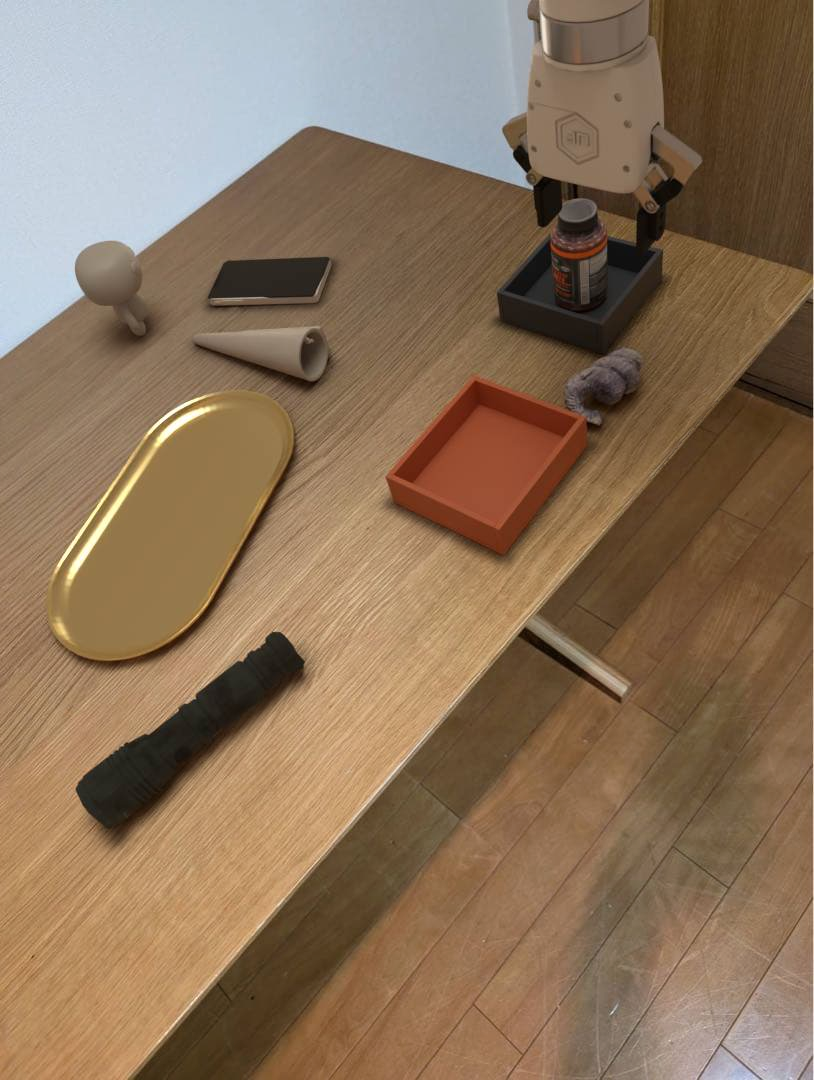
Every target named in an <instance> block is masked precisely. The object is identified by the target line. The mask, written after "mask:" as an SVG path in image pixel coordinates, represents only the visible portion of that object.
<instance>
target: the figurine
mask: <svg viewBox="0 0 814 1080" xmlns="http://www.w3.org/2000/svg"><path fill="white" fill-rule="evenodd" d="M74 274H75V278H76V281H77V283H78V286H79V287H80V290H81V291H82V293H83V294H84V295H85V296H86V298H87V299H88V300H89V301H91V302H92V303H93V304H96V305H98V306H102V307H112V309H113V311H114V314H115V315H116V317H117V319H118V320H120V321H121V322H122V323H123V324H126V325H128V327H129V329H130V330H131V332H132V333H133V334H134V335H136V336H138V337H143V336H144V335H146V333H147V328H146V324H145V322H144V320H145V318H146V317H147V315H148V306H147V302H146V301H145V299H144V298H143V297H142V296H141V295H139V293H138V292H139V291H140V289H141V288H142V284H143V271H142V268H141V265H140V262H139V260H138V258H137V256H136V254H135V252H134V251H133V249H132V248H131V247H130V246H129V245H127V244H125V243H123V242H121V241H119V240H103V241H99V242H97V243H93V244H90V245H89V246H86V247H85V248H84V249H82V250H81V251H80V252H79V253H78V255H77V257H76V259H75V262H74Z"/></svg>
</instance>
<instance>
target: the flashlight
mask: <svg viewBox="0 0 814 1080" xmlns="http://www.w3.org/2000/svg"><path fill="white" fill-rule="evenodd" d="M264 641H265V642H263V643H262V644H261V645H260V646H259V647H257V648H256V649H255V650H253V649H252V650H250V651H249V652H248V653H247V654H246V657H245V658H243V661H242V660H237V661H236V662H234V663H233V664H232V665H231V666H229V667H228V668H227V669H225V670H224V671H223V672H221V673H220V674H219V675H218V676H216V677H215V678H214V679H212V680H211V681H210V682H209V683H208V684H206V685H205V686H204V687H203V688H202V689H200V690H199V691H198V692H196V693H195V698H193V699H192V700H190V701H189V702H188V703H185V702H184V703H183V704H181V705H180V706H179V707H178V711H177V712H175V713H174V714H172V715H171V716H170V717H169V718H167V719H166V720H165V721H164V722H162V723H161V724H160V725H158V727H156V728H155V729H153V730H152V731H151V732H150V733H149V734H147V733H143V734H142V735H140V736H138V737H136V738H134V739H132V740H131V741H126V742H124V743H123V745H121V746H119V747H118V749H116V750H114V751H113V753H110V754H108V757H107V756H106V757H105V758H104V759H103V760H101V761H100V762H99V763H98V764H96V765H95V766H94V767H92V769H90V770H89V771H87V772H86V773H85V774H84V775H83V776H82V778H81V779H80V780H79V781H78V782H77V784H76V786H75V792H76V794H77V796H78V798H79V800H80V803H81V805H82V806H83V808H84V809H85V811H86V812H87V813H88V814H89V815H90V816H91V817H93V818H94V819H95V820H96V822H98V823H100V824H101V825H102V826H103V827H104V828H105V829H107V830H112V829H113V828H114V827H116V826H117V825H118V824H121V823H123V822H124V821H125V820H126V819H128V818H129V817H130V816H131V815H133V814H134V813H135V812H136V811H138V810H139V809H140V808H141V807H142V806H144V805H145V804H146V803H147V802H149V799H152V798H153V797H154V795H157V794H158V793H159V791H162V790H163V789H164V785H165V784H166V783H167V782H168V781H169V780H170V779H171V777H173V775H174V774H175V773H176V768H177V767H178V766H180V765H181V764H184V763H187V762H188V761H189V760H191V758H192V756H193V754H194V753H195V752H197V751H198V750H199V749H201V748H202V747H203V746H204V745H209V744H210V743H212V741H214V737H215V736H216V735H217V734H219V733H220V732H221V731H226V730H227V729H228V728H230V727H231V726H232V725H233V724H235V723H236V722H237V721H238V720H240V719H241V718H242V717H243V716H244V715H245V714H247V713H248V712H250V710H251V709H253V708H254V707H255V706H257V704H259V703H260V702H261V701H262V700H263V699H265V698H266V697H267V693H268V692H269V691H271V690H272V689H273V688H275V687H276V686H278V685H279V684H280V682H282V681H283V680H284V678H287V677H288V676H290V675H295V674H298V673H299V672H300V671H302V670H304V668H305V663H306V661H305V660H304V659H303V657H302V656H301V655H300V654H299V653H298V652H297V650H296V648H295V646H294V645H293V643H292V642H291V641H290V639H288V637H287V636H286V635H285V634H284V633H282V632H281V631H271V632H270V633H269V634H268V635H267V636H265V639H264ZM220 730H221V731H220Z"/></svg>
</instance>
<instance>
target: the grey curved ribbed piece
mask: <svg viewBox="0 0 814 1080" xmlns="http://www.w3.org/2000/svg"><path fill="white" fill-rule="evenodd" d="M644 361H645V358H643V356H641V355H640V354H639V352H638V351H637V350H635V349H631V348H628V347H627V348H626V347H624V346H621V347H618V349H617V350H611V351H610V352H609V353H608V354H606V355H605V356H603V357H601V358H598V359H597V360H596V361H594V362H593V363H592V364H590V365H589V367H588V368H587V367H586V368H584V369H581V371H579V372H577V373H576V374H574V375H573V377H570V378H569V379H568V380H567V381H566V383H565V386H564V388H563V392H562V393H563V397H564V405H565V409H567V410H569V411H572V412H575V413H577V414H580V415H583V416H585V417H586V420H587V422H588V423H592V425H597V427H598V426H600V425H602V424H603V423H604V422H605V421H604V420H603V418H602V416H601V415H600V413H599V409H597V410H596V409H595V410H593V409H592V410H591V409H590V408H587V407H585V400H586V397H587V395H589V394H590V395H591V396H592V398H593V399H595V400H597V401H598V402H600V403H603V404H606V405H615V404H616V403H618V402H620V401H621V400H622V399H623V396H624V395H629V394H630V393H633V392H634V391H636V389H638V387H639V385H640V384H641V375H640V371H642V369H643V368H644V365H645V363H644Z"/></svg>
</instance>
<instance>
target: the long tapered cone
mask: <svg viewBox="0 0 814 1080" xmlns="http://www.w3.org/2000/svg"><path fill="white" fill-rule="evenodd" d="M191 339H192V342H193V343H194V344H195V345H198V346H201V347H203V348H206V349H209V350H212V351H215V352H217V353H221V354H224V355H227V356H230V357H234V358H237V359H239V360H243V361H246V362H250V363H251V364H254V365H258V366H261V367H264V368H266V369H271V370H274V371H277V372H280V373H283V374H286V375H289V376H292V377H295V378H298V379H302V380H305V381H307V382H315V381H317V380H319V379H320V378H321V377H322V376H323V374H324V372H325V371H326V368H327V364H328V360H329V353H330V352H331V348H330V344H329V342H328V339H327V336H326V334H325V331H324V329H323V327H322V325H316V326H315V325H313V326H300V327H299V326H297V327H284V328H283V327H281V328H264V329H263V328H262V329H245V330H242V331H225V332H224V331H222V332H203V333H202V332H201V333H197V334H194V335H193V336H192V338H191ZM308 339H311V340H308Z"/></svg>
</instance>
